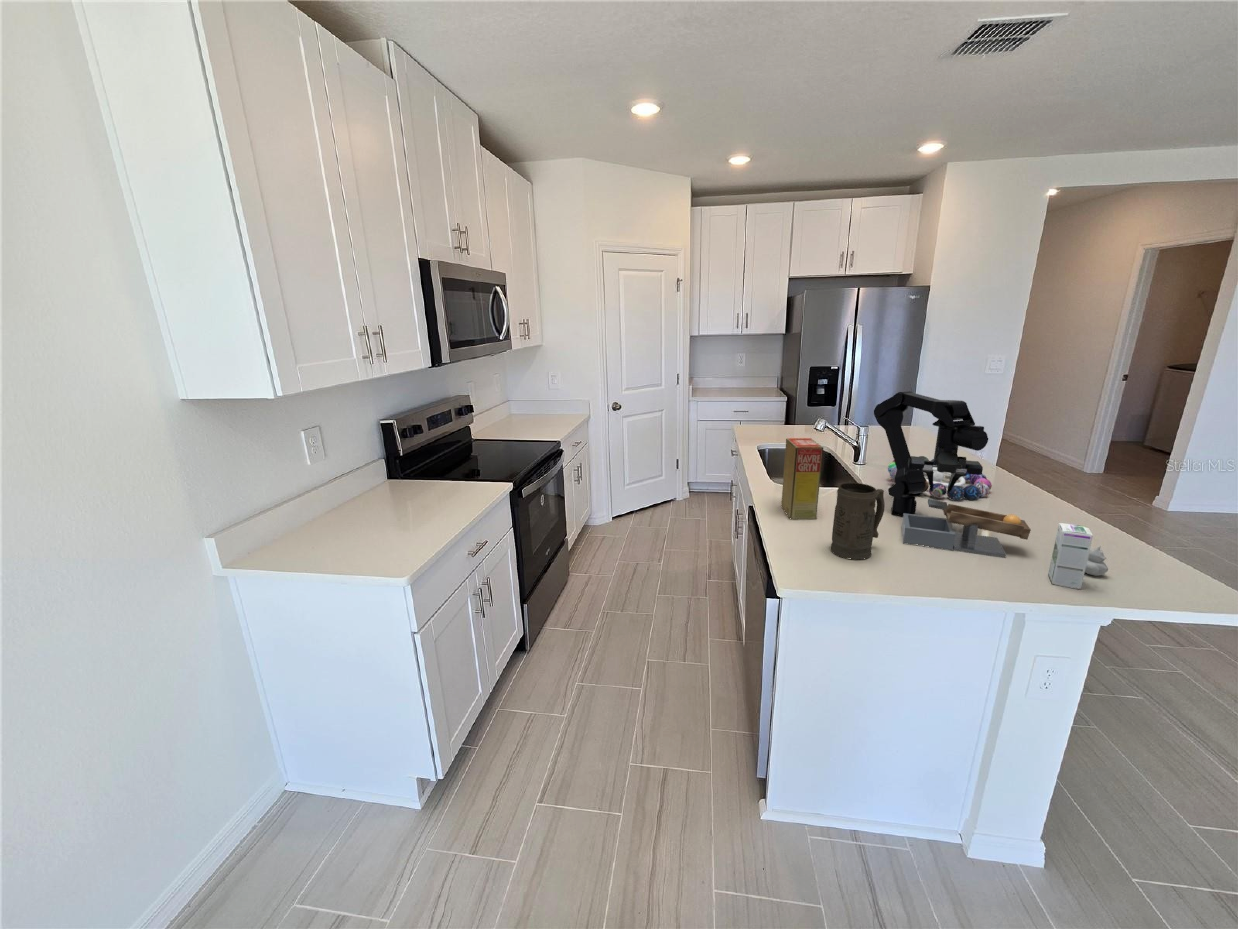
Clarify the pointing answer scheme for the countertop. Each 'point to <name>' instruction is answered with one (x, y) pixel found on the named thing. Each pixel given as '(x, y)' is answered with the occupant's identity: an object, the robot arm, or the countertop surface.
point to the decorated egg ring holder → (957, 492)
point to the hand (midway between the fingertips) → (939, 491)
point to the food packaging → (801, 478)
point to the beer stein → (856, 520)
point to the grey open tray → (927, 531)
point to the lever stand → (977, 542)
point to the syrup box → (1070, 555)
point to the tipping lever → (980, 519)
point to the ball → (1012, 519)
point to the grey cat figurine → (1096, 563)
